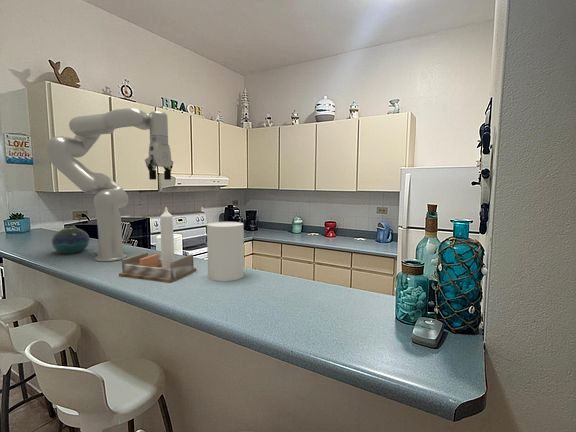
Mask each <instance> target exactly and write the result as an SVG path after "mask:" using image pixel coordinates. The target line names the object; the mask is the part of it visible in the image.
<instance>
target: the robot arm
mask: <svg viewBox="0 0 576 432" xmlns="http://www.w3.org/2000/svg"><path fill="white" fill-rule="evenodd" d="M168 125H169V124H168V114H167V113H166V112H163V111H159V110H158V111H156V110H155V111H150V112H149V113H147V112H145V111H143V110H141V109H138V108H135V107H127V108H126V107H125V108H117V109H113V110H110V111H108V112H106V113H98V114H90V115H80V116H75V117H73V118H71V119H70V120H69V123H68V127H69V130H70V131H71V132H72V134H74V135H75V136H74V137H73V138H71V137H67V136H54V137H52V138H50V139H48V141H47V142H46V147H45V153H46V156H47V158H48V160H49V162H50V163H51V164H52V166H54V167H55V168H56V170H58V172H60V173H61V174H63V175H64V176H65V177H66V178H67V179H68V180H69V181H71V182H72V183H73V184H74V185H75V186H76V187H77V188H78V189H79V190H81V192H83V193H85V194H89V195H90V194H91V195H92V194H93V195H94V194H95V196H94V197H93V205H94V209H95V214H96V221H97V222H96V223H97V224H96V225H97V240H98V241H97V242H98V247H97V248H96V249H94V251H93V253H94V254H97V256H95V261H97V262H115V261H116V262H117V261H122V259H125V258H128V257H127V256H128V254H127V253H125V252H124V249H123V248H124V246H123V230H122V228H123V227H122V217H121V213H120V210H119V209H123V208H125V207H126V206H127V205H128V203H129V195H128V194H127V192H126V191H125V190H124V189H123V188H122V187H121V186H119V184H117V183H116V181H114V180H113V179H112V178H111V177H109V176H108V175H106V174H104V173H101V172H93V171H92V170H90V169H89V168H87V167H86V166H85V165H84V164H83V163H82V162H81V161H79V160H78V159H79V158H82V157H84V156H85V155H86V154H87V153H88V152H89V151H90V150H91V148H92V147H93V145H94V144H96V142H97V141H98V140H99V139H100V137H101V135H109V134H110V135H111V134H112V133H114V131H115V130H117V129H120V128H129V127H130V128H131V127H134V128H137V129H140V130H142V131H143V130H144V131H149V146H148V157H147V158H145V159H144V162H145V165H146V168H147V170H148V179H149V180H150V181H151V180H157V170H156V169H157V167H161V168H162V167H163V169H164V171H163V178H164V179H163V180H165V181H170V180H171V179H172V175H171V174H172V173H171V172H172V171H173V170H172V169H173V165H174V161H172V153H171V147H170V144H169V126H168ZM94 146H95V145H94ZM76 158H78V159H76ZM123 252H124V253H123Z"/></svg>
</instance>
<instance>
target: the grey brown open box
mask: <svg viewBox="0 0 576 432" xmlns="http://www.w3.org/2000/svg"><path fill="white" fill-rule="evenodd" d="M148 256H149V252H143V253H139V254H136V255H132V256H130V257H129V256H128V257H126V258H124V259H121V267H122V272H120V273H118V277H121V278H122V277H123V278H129V277H130V278H131V279H139V280H147V281H156V282H162V283H172V282H175V281H177V280H179V279H181V278H183V277H186V276H188V275H190V274H192V273H195V272H196V271H197V268H196V267H194V254H192V253H190V254H188V255H184V256H183V257H179V258H177V259H174V261H171V262H170V268H171V269H167V268H162V258H159V266H158V267H149V266H140V262H139V259H142V258H145V257H148Z"/></svg>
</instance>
